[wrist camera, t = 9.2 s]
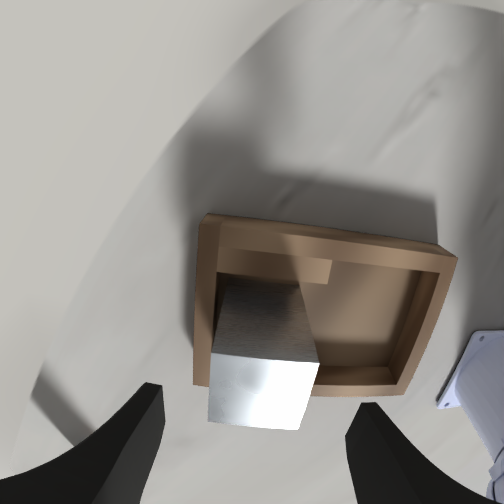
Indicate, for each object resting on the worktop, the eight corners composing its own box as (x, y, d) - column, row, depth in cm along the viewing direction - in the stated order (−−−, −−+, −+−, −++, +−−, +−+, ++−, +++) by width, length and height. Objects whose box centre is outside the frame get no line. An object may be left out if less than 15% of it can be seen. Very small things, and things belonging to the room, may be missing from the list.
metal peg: (299, 285, 18) (319, 363, 11) (288, 343, 19) (297, 429, 12) (228, 277, 18) (211, 352, 11) (223, 336, 19) (207, 421, 12)
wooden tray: (438, 244, 17) (457, 257, 15) (393, 373, 20) (403, 394, 18) (207, 213, 17) (199, 223, 15) (199, 361, 20) (193, 384, 18)
